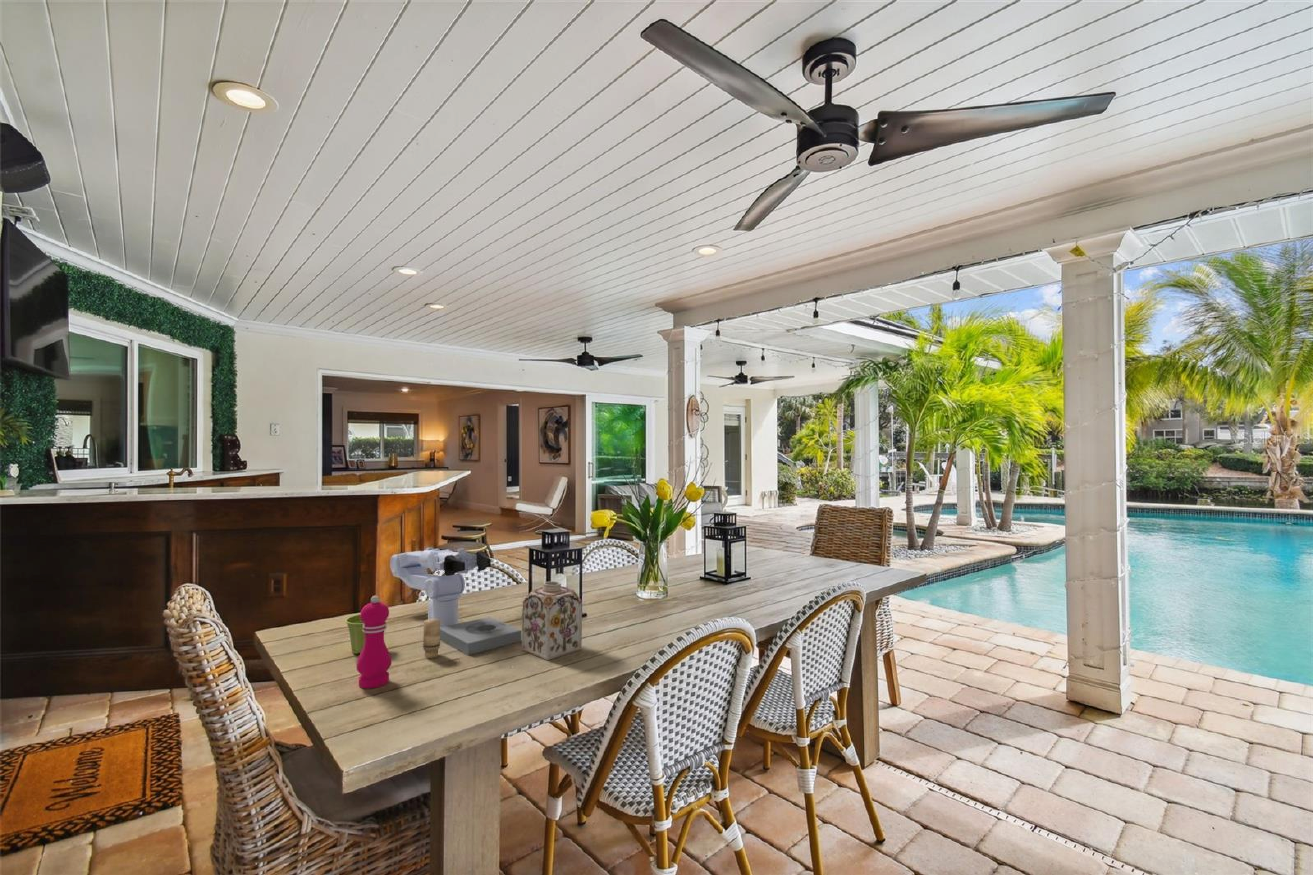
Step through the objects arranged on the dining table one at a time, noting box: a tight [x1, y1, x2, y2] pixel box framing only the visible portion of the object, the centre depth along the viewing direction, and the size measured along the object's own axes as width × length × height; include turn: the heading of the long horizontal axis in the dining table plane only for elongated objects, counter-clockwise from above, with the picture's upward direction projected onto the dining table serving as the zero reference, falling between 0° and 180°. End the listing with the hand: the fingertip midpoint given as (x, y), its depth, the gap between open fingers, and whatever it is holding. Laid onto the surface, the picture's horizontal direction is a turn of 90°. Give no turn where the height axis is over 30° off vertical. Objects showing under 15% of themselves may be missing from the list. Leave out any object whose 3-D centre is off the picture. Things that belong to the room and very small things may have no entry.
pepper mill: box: [356, 595, 392, 689], centre depth 135 cm, size 7×7×20 cm
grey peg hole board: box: [440, 616, 522, 656], centre depth 166 cm, size 18×16×3 cm
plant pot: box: [345, 613, 365, 655], centre depth 157 cm, size 9×9×9 cm
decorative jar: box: [521, 580, 583, 661], centre depth 158 cm, size 12×12×18 cm
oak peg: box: [422, 619, 441, 659], centre depth 153 cm, size 4×4×9 cm
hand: (476, 564), depth 163 cm, fingers open, 7 cm apart
